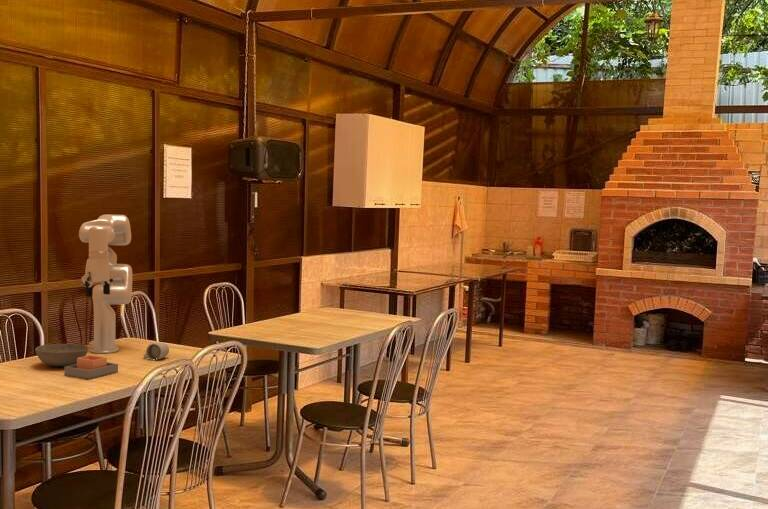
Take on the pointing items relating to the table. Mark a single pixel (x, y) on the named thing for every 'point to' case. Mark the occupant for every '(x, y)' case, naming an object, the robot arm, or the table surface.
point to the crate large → (90, 371)
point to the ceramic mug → (156, 351)
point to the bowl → (61, 353)
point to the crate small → (91, 362)
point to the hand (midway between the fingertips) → (98, 295)
